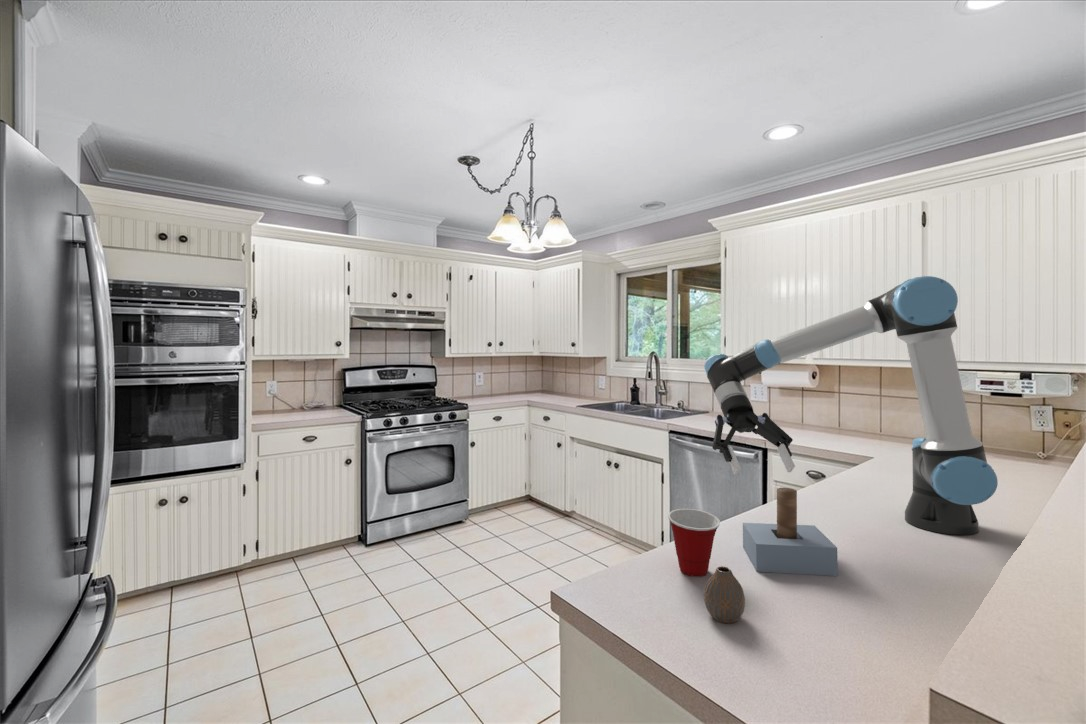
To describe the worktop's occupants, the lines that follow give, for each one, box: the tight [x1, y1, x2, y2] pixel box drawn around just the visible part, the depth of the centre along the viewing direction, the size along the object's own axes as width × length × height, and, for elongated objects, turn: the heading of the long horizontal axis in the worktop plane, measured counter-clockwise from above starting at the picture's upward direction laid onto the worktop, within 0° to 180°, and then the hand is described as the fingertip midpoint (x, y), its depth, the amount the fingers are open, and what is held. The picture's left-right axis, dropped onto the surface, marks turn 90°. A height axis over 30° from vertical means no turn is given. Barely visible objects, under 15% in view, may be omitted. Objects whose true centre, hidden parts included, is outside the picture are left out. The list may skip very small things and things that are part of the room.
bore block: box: [742, 522, 839, 577], centre depth 110 cm, size 16×13×6 cm
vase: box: [703, 565, 746, 624], centre depth 88 cm, size 7×7×9 cm
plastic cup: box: [667, 508, 721, 578], centre depth 106 cm, size 11×11×12 cm
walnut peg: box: [776, 487, 798, 539], centre depth 110 cm, size 4×4×15 cm
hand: (764, 470), depth 118 cm, fingers open, 13 cm apart
